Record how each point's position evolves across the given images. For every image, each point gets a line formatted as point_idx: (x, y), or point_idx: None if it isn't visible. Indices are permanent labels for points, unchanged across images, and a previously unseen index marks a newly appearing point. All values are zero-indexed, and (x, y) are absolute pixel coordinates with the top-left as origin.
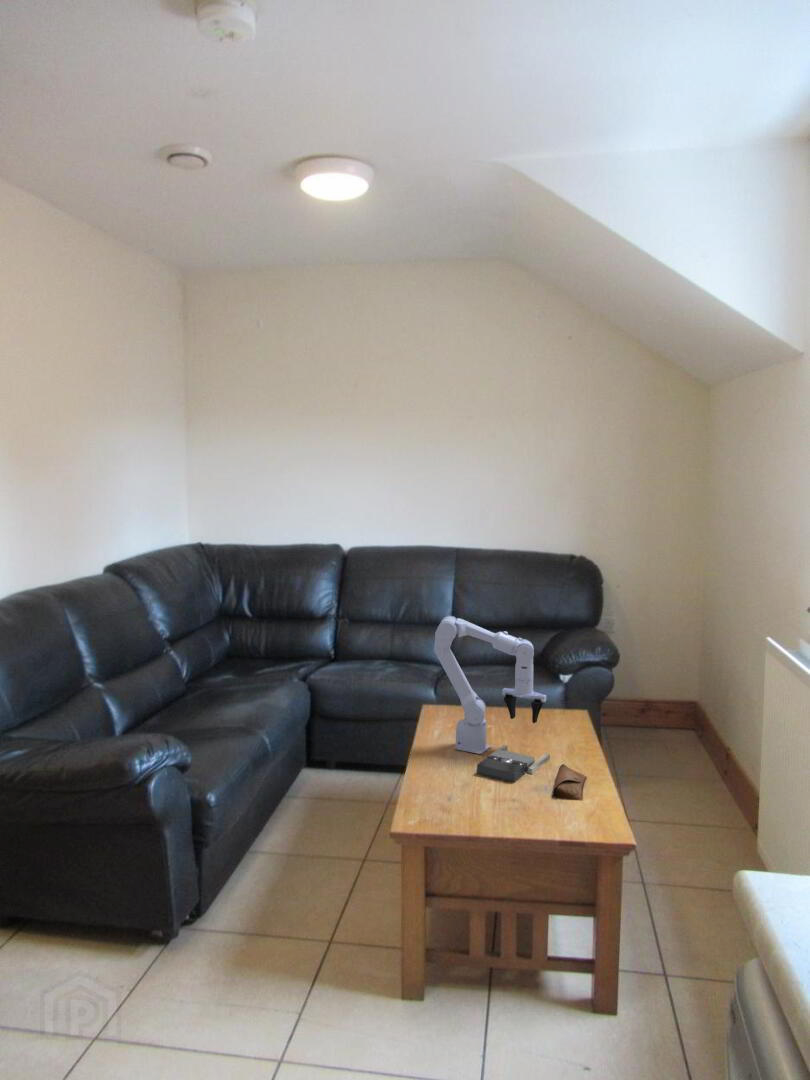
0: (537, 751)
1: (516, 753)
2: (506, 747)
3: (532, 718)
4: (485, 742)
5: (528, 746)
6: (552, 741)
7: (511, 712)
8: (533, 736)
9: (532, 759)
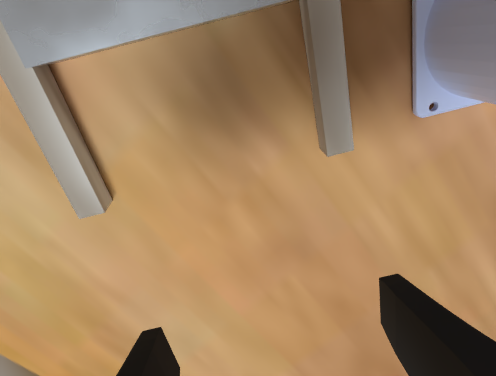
0: (200, 237)
1: (157, 25)
2: (323, 138)
3: (142, 365)
4: (450, 52)
5: (270, 253)
6: (231, 351)
7: (426, 324)
8: (320, 339)
9: (7, 25)
